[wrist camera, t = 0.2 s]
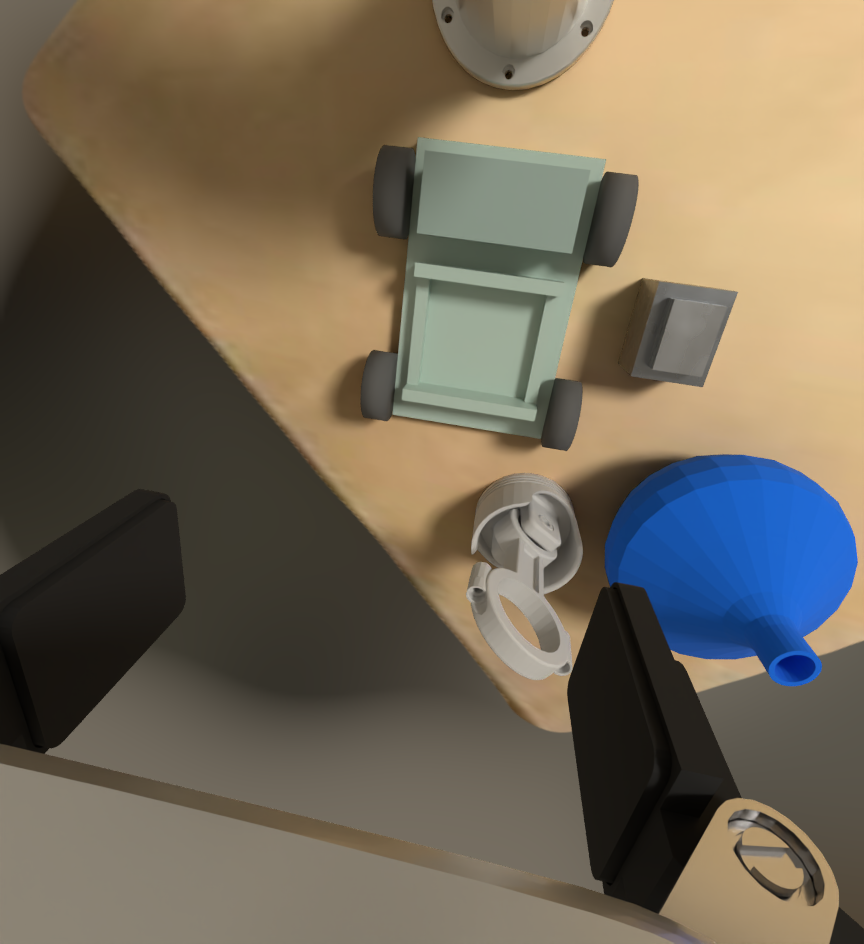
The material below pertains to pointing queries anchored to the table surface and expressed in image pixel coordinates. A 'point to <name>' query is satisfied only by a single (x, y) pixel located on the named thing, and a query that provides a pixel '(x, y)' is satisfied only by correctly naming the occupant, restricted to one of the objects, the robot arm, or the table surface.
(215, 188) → the table surface
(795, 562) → the vase
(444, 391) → the chassis
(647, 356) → the block
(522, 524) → the engine component
